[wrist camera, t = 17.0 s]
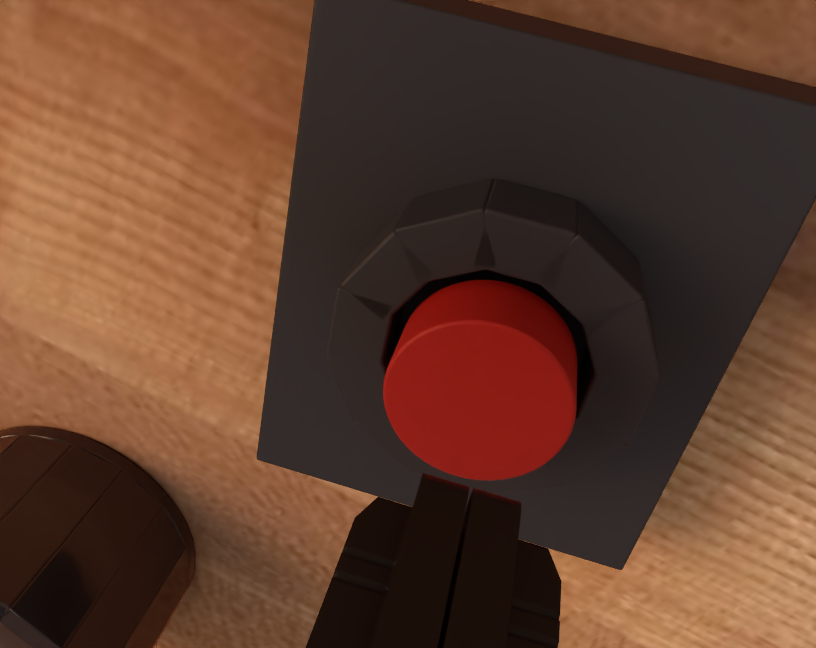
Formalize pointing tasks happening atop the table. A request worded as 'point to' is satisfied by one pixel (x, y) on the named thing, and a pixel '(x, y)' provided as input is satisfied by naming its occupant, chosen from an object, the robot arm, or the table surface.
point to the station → (527, 239)
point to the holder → (86, 544)
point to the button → (483, 381)
